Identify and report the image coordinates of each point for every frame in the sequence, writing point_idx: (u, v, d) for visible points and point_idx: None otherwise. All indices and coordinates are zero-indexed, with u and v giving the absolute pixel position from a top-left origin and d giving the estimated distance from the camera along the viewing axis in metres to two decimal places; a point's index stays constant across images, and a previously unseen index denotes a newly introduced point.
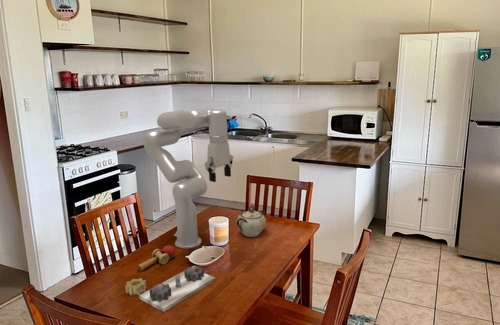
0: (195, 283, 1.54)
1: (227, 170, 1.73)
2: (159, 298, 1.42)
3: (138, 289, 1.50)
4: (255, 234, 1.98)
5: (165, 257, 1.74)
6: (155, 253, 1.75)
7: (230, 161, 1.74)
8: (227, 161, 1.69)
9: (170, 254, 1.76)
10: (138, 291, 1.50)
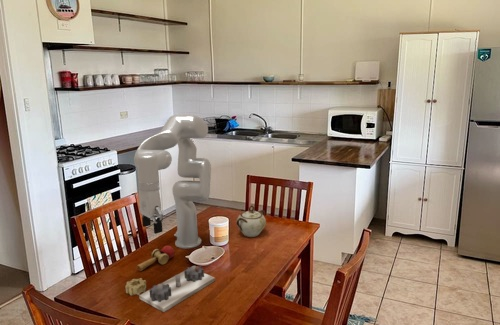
0: (195, 283, 1.54)
1: (147, 219, 1.56)
2: (159, 298, 1.42)
3: (138, 289, 1.50)
4: (255, 234, 1.98)
5: (164, 257, 1.74)
6: (154, 253, 1.75)
7: None
8: None
9: (169, 254, 1.76)
10: (138, 291, 1.50)
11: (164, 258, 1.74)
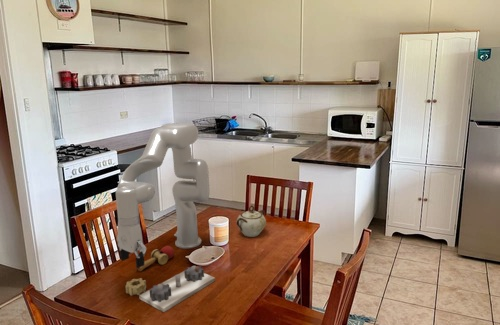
0: (195, 283, 1.54)
1: (126, 252, 1.53)
2: (159, 298, 1.42)
3: (138, 289, 1.50)
4: (255, 234, 1.98)
5: (164, 257, 1.74)
6: (154, 253, 1.75)
7: None
8: None
9: (169, 254, 1.76)
10: (138, 291, 1.50)
11: (164, 258, 1.74)
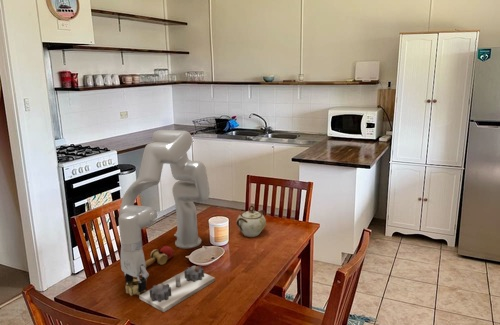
0: (195, 283, 1.54)
1: (130, 277, 1.55)
2: (159, 298, 1.42)
3: None
4: (255, 234, 1.98)
5: (163, 257, 1.74)
6: (153, 253, 1.75)
7: None
8: None
9: (168, 254, 1.76)
10: (138, 291, 1.50)
11: (163, 258, 1.74)
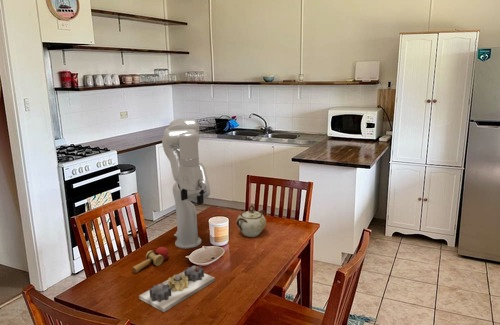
0: (195, 283, 1.54)
1: (185, 193, 1.69)
2: (159, 298, 1.42)
3: (181, 285, 1.49)
4: (255, 234, 1.98)
5: (159, 258, 1.73)
6: (149, 255, 1.74)
7: None
8: None
9: (164, 255, 1.75)
10: (181, 287, 1.49)
11: (159, 259, 1.73)
